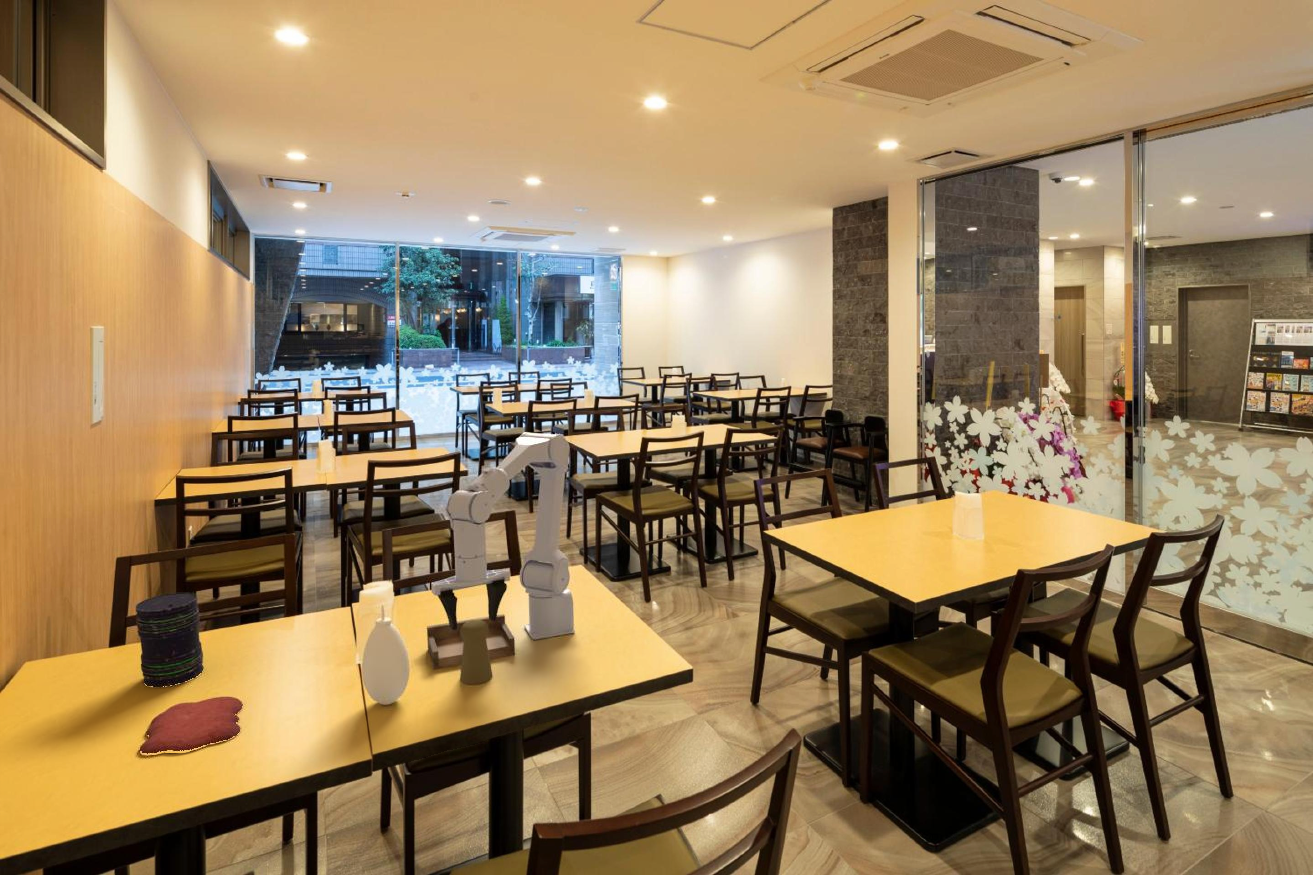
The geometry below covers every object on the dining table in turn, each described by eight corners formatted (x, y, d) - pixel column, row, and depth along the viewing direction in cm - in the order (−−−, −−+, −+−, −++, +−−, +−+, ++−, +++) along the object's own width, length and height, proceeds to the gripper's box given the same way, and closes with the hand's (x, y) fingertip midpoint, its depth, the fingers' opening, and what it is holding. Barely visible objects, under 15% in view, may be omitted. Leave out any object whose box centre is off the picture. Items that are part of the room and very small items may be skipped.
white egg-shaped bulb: (366, 717, 121) (360, 616, 118) (362, 697, 128) (356, 601, 125) (414, 706, 124) (409, 608, 122) (407, 687, 131) (402, 594, 129)
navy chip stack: (137, 676, 136) (129, 601, 134) (196, 659, 143) (189, 588, 141) (149, 693, 129) (141, 615, 127) (211, 675, 137) (204, 600, 135)
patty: (239, 743, 114) (238, 732, 114) (134, 767, 108) (132, 755, 107) (246, 696, 129) (245, 685, 129) (154, 714, 123) (153, 703, 123)
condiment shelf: (504, 636, 154) (503, 614, 153) (514, 654, 145) (514, 630, 144) (428, 649, 148) (426, 626, 147) (433, 669, 139) (432, 644, 138)
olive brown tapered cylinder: (496, 670, 138) (494, 616, 136) (486, 685, 132) (484, 629, 130) (466, 669, 138) (464, 615, 137) (455, 684, 132) (452, 628, 131)
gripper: (499, 543, 140) (501, 608, 142) (425, 555, 132) (428, 625, 134) (513, 551, 134) (515, 620, 136) (436, 564, 126) (440, 637, 128)
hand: (473, 623), depth 134 cm, fingers open, 7 cm apart
